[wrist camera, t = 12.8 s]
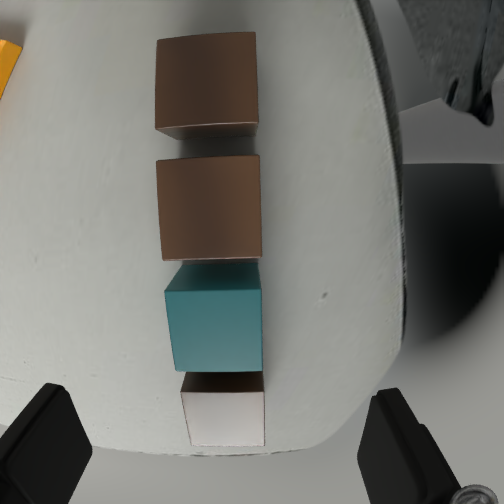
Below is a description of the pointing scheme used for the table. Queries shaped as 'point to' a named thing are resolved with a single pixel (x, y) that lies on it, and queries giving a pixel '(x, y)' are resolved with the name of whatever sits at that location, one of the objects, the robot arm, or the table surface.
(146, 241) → the table surface
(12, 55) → the wide flat orange box
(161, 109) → the line block
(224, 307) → the teal block
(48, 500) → the robot arm
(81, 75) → the table surface
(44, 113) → the table surface
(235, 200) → the line block
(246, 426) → the line block
